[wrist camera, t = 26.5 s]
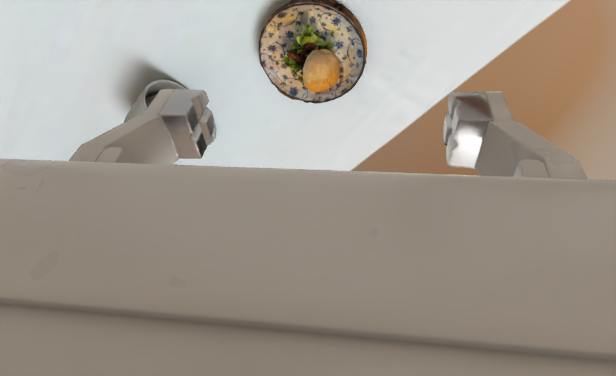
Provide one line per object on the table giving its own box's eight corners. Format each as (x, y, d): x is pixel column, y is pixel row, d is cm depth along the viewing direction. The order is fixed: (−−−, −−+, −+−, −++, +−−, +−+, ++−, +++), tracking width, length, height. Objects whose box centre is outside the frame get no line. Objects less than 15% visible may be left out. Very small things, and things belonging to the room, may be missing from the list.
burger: (280, -25, 41) (265, 6, 36) (387, 24, 43) (387, 60, 38) (249, 73, 49) (233, 109, 44) (339, 110, 51) (334, 149, 46)
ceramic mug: (132, 107, 55) (106, 144, 50) (158, 67, 50) (132, 104, 45) (201, 150, 60) (183, 189, 54) (231, 118, 55) (215, 157, 49)
